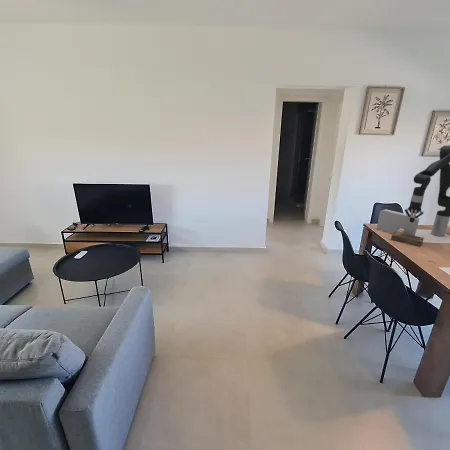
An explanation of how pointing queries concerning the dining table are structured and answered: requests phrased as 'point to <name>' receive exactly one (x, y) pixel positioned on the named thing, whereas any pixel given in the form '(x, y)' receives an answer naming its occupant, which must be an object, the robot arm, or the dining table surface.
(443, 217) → the robot arm
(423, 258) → the dining table surface
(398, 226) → the rounded white slab
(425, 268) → the dining table surface
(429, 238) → the dining table surface
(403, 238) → the console
